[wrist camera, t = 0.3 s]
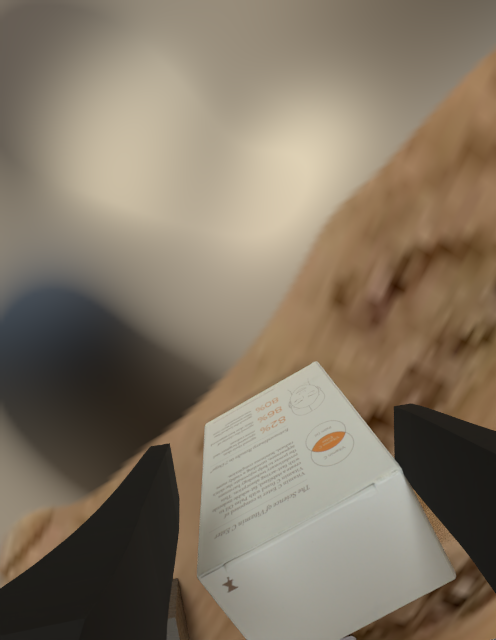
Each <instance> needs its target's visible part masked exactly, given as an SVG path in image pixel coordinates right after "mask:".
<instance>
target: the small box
mask: <svg viewBox="0 0 496 640" xmlns="http://www.w3.org/2000/svg"><path fill="white" fill-rule="evenodd" d="M197 578H198V579H199V581H200V582H201V583H202V584H203V586H204V587H205V588H206V589H207V591H208V592H209V593H210V594H211V596H212V597H213V598H214V600H215V601H216V602H217V603H218V605H219V606H220V607H221V608H222V610H223V611H224V612H225V614H226V615H227V616H228V617H229V618H230V620H231V621H232V622H233V623H234V625H235V626H236V627H237V628H238V630H239V631H240V632H241V633H242V635H243V636H244V637H245V638H246V640H340V639H341V638H343V637H345V636H347V635H349V634H351V633H353V632H355V631H357V630H359V629H361V628H363V627H364V626H366V625H368V624H370V623H372V622H374V621H376V620H378V619H380V618H382V617H384V616H385V615H387V614H389V613H391V612H393V611H395V610H397V609H399V608H400V607H402V606H404V605H406V604H408V603H410V602H412V601H414V600H416V599H418V598H420V597H422V596H424V595H425V594H427V593H429V592H431V591H433V590H435V589H437V588H439V587H441V586H443V585H444V584H446V583H448V582H451V581H453V580H454V579H455V578H456V573H455V571H454V569H453V567H452V565H451V563H450V561H449V559H448V557H447V555H446V553H445V551H444V549H443V547H442V545H441V543H440V541H439V539H438V537H437V535H436V533H435V532H434V530H433V528H432V526H431V524H430V522H429V520H428V518H427V516H426V514H425V512H424V510H423V508H422V506H421V504H420V503H419V501H418V499H417V497H416V495H415V493H414V491H413V489H412V487H411V485H410V483H409V482H408V480H407V479H406V477H405V476H404V474H403V471H402V468H401V467H400V465H399V464H398V463H397V462H396V460H395V459H394V458H393V456H392V455H391V454H390V453H389V452H388V450H387V449H386V448H385V447H384V445H383V444H382V443H381V442H380V440H379V439H378V438H377V436H376V435H375V434H374V433H373V431H372V430H371V429H370V428H369V426H368V425H367V424H366V422H365V421H364V420H363V419H362V417H361V416H360V415H359V414H358V412H357V411H356V410H355V408H354V407H353V406H352V404H351V403H350V402H349V401H348V399H347V398H346V397H345V396H344V394H343V393H342V392H341V391H340V389H339V388H338V387H337V386H336V384H335V383H334V382H333V380H332V379H331V378H330V377H329V376H328V374H327V373H326V372H325V370H324V369H323V368H322V367H321V365H320V364H319V363H318V362H317V361H316V362H313V363H312V364H310V365H308V366H307V367H305V368H303V369H301V370H300V371H298V372H296V373H294V374H293V375H291V376H289V377H287V378H286V379H284V380H282V381H280V382H278V383H277V384H275V385H273V386H272V387H270V388H268V389H266V390H264V391H263V392H261V393H259V394H257V395H256V396H254V397H252V398H250V399H249V400H247V401H245V402H243V403H242V404H240V405H238V406H236V407H235V408H233V409H231V410H229V411H228V412H226V413H224V414H222V415H221V416H219V417H217V418H215V419H213V420H212V421H210V422H208V423H207V424H206V425H205V433H204V453H203V475H202V492H201V509H200V526H199V545H198V565H197Z"/></svg>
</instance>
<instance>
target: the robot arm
mask: <svg viewBox="0 0 496 640" xmlns="http://www.w3.org/2000/svg"><path fill="white" fill-rule="evenodd" d="M394 446H395V460H396V462H397V463H398V464H399V465H400V467H401V468H402V471H403V474H404V476H405V477H406V479H407V480H408V482H409V483H410V485H411V486H412V488H413V489H414V490H415V491H416V492H417V494H418V495H419V496H420V497H421V499H422V500H423V501H424V502H425V503H426V505H427V506H428V507H429V508H430V509H431V510H432V512H433V513H434V514H435V515H436V516H437V518H438V519H439V520H440V521H441V522H442V524H443V525H444V526H445V527H446V528H447V529H448V531H449V532H450V533H451V534H452V535H453V537H454V538H455V539H456V540H457V541H458V542H459V544H460V545H461V546H462V547H463V549H464V550H465V551H466V552H467V554H468V555H469V556H470V558H471V559H472V560H473V562H474V563H475V564H476V566H477V567H478V569H479V570H480V572H481V573H482V574H483V576H484V577H485V579H486V580H487V582H488V583H489V584H490V586H491V587H492V589H493V590H494V592H495V593H496V431H494V430H490V429H487V428H484V427H481V426H478V425H475V424H472V423H469V422H466V421H463V420H461V419H458V418H455V417H452V416H449V415H446V414H443V413H441V412H438V411H435V410H432V409H429V408H426V407H422V406H419V405H415V404H405V405H399V406H394ZM178 534H179V494H178V488H177V482H176V477H175V471H174V465H173V459H172V454H171V448H170V443H169V444H163V445H157V446H151V447H150V448H149V449H148V450H147V451H146V453H145V454H144V455H143V456H142V458H141V459H140V460H139V462H138V463H137V464H136V466H135V467H134V468H133V469H132V471H131V472H130V473H129V474H128V476H127V477H126V478H125V479H124V481H123V482H122V483H121V484H120V486H119V487H118V488H117V489H116V490H115V491H114V492H113V494H112V495H111V496H110V497H109V498H108V499H107V500H106V501H105V502H104V503H103V505H102V506H101V507H100V508H99V509H98V510H97V511H96V512H95V513H94V514H93V515H92V516H91V517H90V518H89V519H88V520H87V521H86V522H85V523H84V524H83V525H81V526H80V527H79V528H78V529H77V530H76V531H75V532H74V533H73V534H72V535H70V536H69V537H68V538H67V539H66V540H65V541H63V542H62V543H61V544H60V545H58V546H57V547H56V548H55V549H53V550H52V551H51V552H50V553H48V554H47V555H46V556H45V557H43V558H42V559H41V560H40V561H38V562H37V563H36V564H34V565H33V566H32V567H30V568H29V569H28V570H26V571H25V572H23V573H22V574H21V575H19V576H18V577H16V578H15V579H14V580H12V581H11V582H9V583H8V584H6V585H5V586H3V587H2V588H0V640H167V622H168V611H169V602H170V595H171V587H172V580H173V572H174V565H175V557H176V550H177V542H178ZM340 640H356V638H355V637H354V636H348V637H344V638H341V639H340ZM492 640H496V639H492Z"/></svg>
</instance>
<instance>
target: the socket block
mask: <svg viewBox="0 0 496 640" xmlns="http://www.w3.org/2000/svg"><path fill="white" fill-rule="evenodd" d="M167 640H189V635H188V630H187V624H186V619H185V614H184V609H183V603H182V598H181V593H180V588H179V582H178V579H173V580H172V587H171V595H170V602H169V611H168V622H167Z"/></svg>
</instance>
